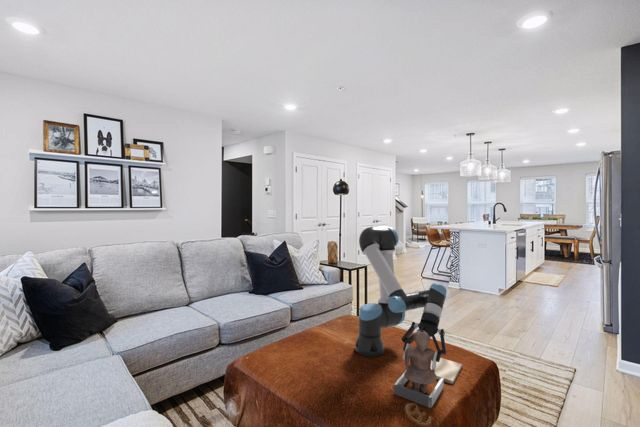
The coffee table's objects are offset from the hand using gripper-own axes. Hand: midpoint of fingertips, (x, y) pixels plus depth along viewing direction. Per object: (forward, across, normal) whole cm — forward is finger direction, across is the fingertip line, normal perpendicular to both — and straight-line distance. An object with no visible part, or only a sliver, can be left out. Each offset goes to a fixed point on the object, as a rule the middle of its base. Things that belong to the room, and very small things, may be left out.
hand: (418, 364), depth 130 cm
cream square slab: (-9, -2, -26) cm, 28 cm away
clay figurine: (+7, 0, -11) cm, 13 cm away
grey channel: (+7, 0, -11) cm, 13 cm away
